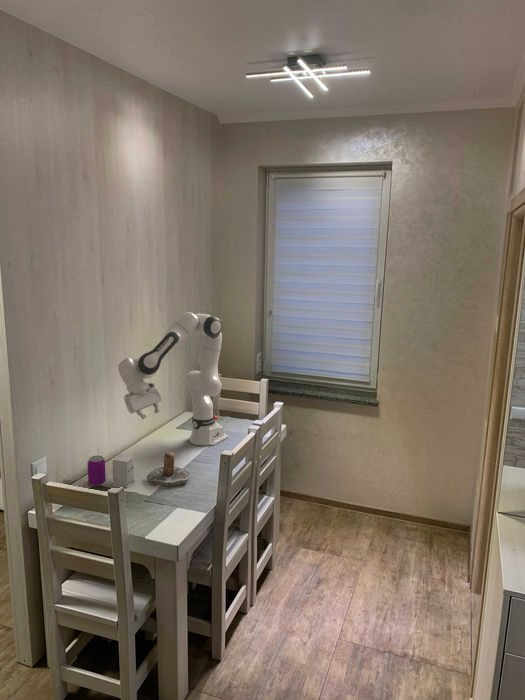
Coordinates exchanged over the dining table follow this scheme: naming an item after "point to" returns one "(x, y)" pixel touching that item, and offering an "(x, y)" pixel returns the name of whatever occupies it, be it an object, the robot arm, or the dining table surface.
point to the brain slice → (159, 479)
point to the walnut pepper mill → (168, 464)
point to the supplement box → (123, 470)
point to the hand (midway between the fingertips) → (151, 415)
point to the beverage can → (96, 471)
